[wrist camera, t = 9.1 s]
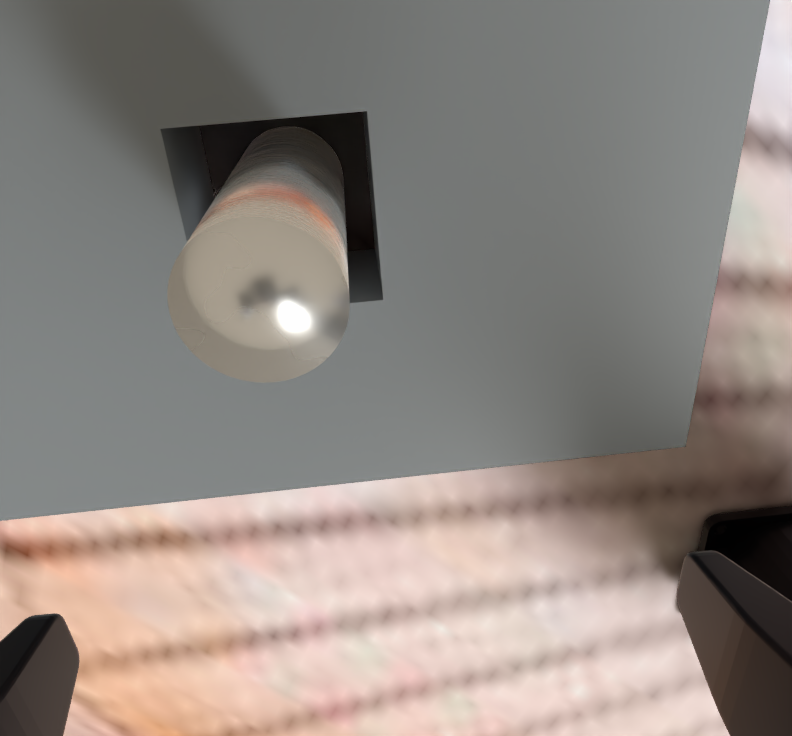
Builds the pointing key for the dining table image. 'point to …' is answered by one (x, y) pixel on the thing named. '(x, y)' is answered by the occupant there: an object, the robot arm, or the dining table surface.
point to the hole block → (392, 228)
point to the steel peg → (268, 263)
